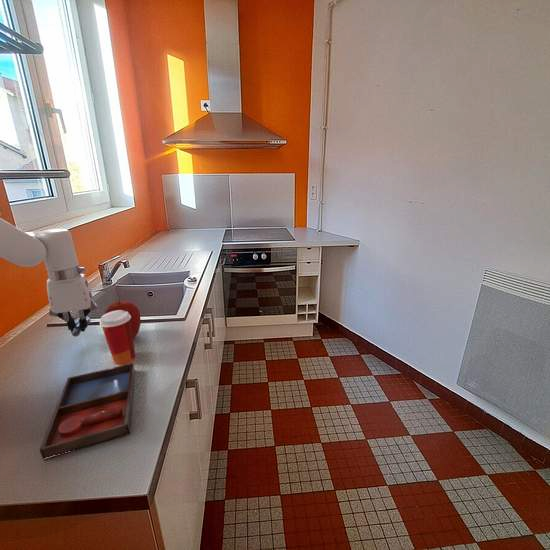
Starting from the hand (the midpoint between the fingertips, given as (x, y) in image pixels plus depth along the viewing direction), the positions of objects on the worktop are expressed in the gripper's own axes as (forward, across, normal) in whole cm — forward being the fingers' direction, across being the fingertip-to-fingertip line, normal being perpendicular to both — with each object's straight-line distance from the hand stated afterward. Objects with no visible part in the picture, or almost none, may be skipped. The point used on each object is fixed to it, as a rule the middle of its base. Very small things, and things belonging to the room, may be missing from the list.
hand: (79, 330), depth 91 cm
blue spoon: (0, 0, -1) cm, 1 cm away
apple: (+6, -13, +1) cm, 14 cm away
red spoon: (+5, -9, +36) cm, 37 cm away
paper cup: (+6, -13, +13) cm, 19 cm away
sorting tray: (+6, -8, +31) cm, 32 cm away
